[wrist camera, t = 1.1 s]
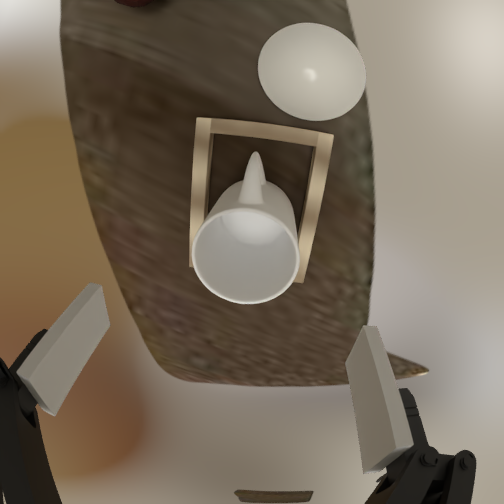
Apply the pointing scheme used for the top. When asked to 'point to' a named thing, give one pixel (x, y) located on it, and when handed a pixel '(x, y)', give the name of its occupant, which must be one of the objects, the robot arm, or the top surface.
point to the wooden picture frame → (266, 131)
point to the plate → (312, 71)
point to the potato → (134, 2)
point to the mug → (248, 241)
